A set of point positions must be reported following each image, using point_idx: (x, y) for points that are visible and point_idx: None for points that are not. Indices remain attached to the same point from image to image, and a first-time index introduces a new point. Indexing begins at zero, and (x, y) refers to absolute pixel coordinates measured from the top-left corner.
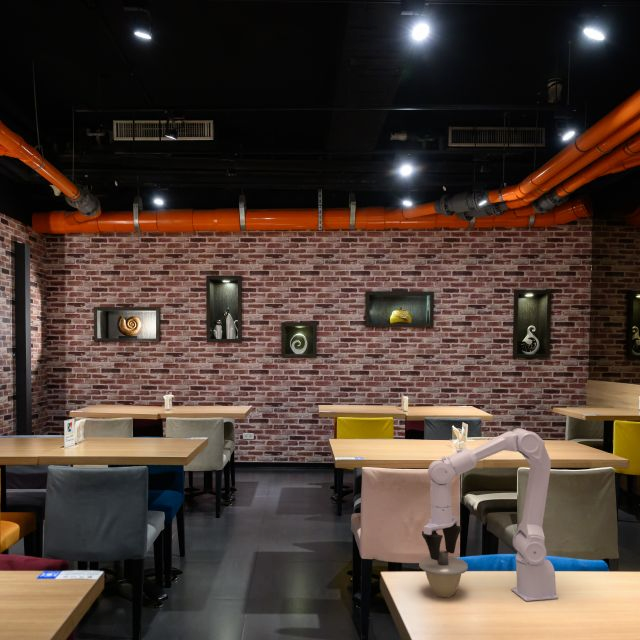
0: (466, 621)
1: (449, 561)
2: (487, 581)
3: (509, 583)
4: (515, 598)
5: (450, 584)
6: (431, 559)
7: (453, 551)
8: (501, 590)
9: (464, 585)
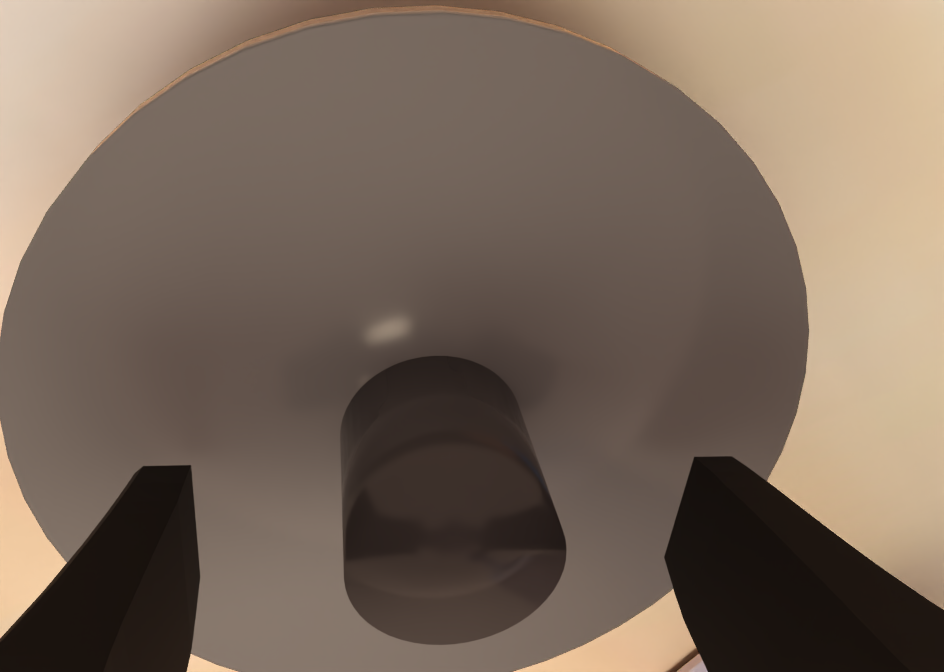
0: None
1: (581, 448)
2: (911, 380)
3: (933, 506)
4: (665, 636)
5: None
6: (494, 194)
7: (681, 595)
8: None
9: None
